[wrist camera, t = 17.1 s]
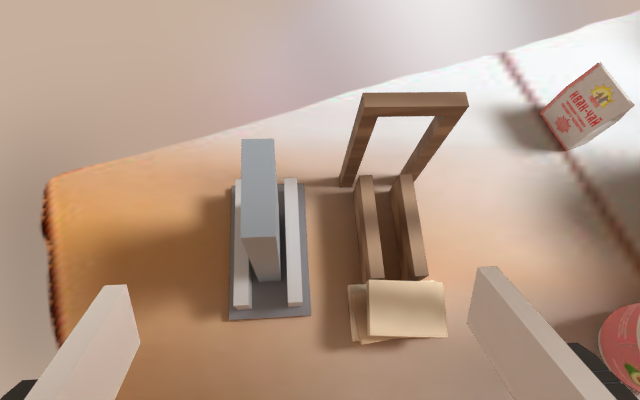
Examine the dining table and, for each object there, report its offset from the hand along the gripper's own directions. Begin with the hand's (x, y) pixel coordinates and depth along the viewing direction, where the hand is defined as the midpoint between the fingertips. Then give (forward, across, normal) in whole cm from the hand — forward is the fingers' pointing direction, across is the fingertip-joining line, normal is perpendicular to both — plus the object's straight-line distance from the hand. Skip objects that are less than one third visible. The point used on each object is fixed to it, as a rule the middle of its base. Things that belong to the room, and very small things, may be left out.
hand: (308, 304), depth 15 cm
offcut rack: (+28, +11, -15) cm, 34 cm away
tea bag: (+41, +39, -4) cm, 57 cm away
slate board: (+28, -3, -14) cm, 31 cm away
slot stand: (+29, -3, -14) cm, 32 cm away
